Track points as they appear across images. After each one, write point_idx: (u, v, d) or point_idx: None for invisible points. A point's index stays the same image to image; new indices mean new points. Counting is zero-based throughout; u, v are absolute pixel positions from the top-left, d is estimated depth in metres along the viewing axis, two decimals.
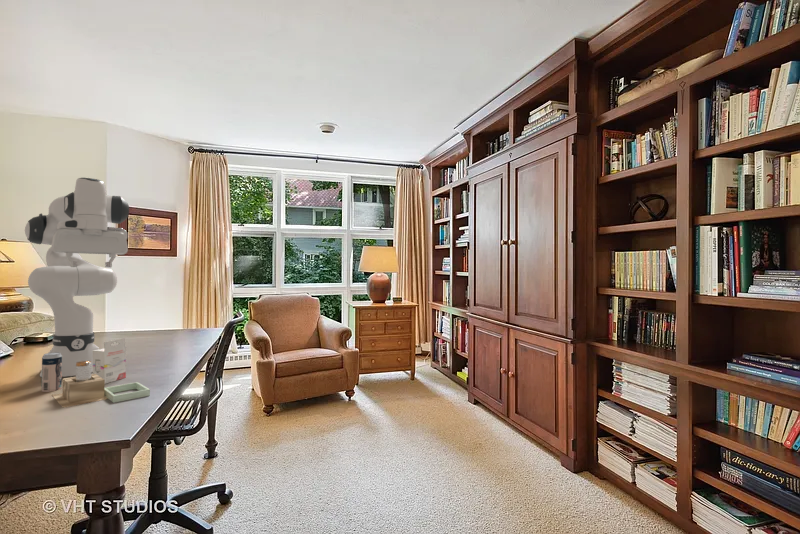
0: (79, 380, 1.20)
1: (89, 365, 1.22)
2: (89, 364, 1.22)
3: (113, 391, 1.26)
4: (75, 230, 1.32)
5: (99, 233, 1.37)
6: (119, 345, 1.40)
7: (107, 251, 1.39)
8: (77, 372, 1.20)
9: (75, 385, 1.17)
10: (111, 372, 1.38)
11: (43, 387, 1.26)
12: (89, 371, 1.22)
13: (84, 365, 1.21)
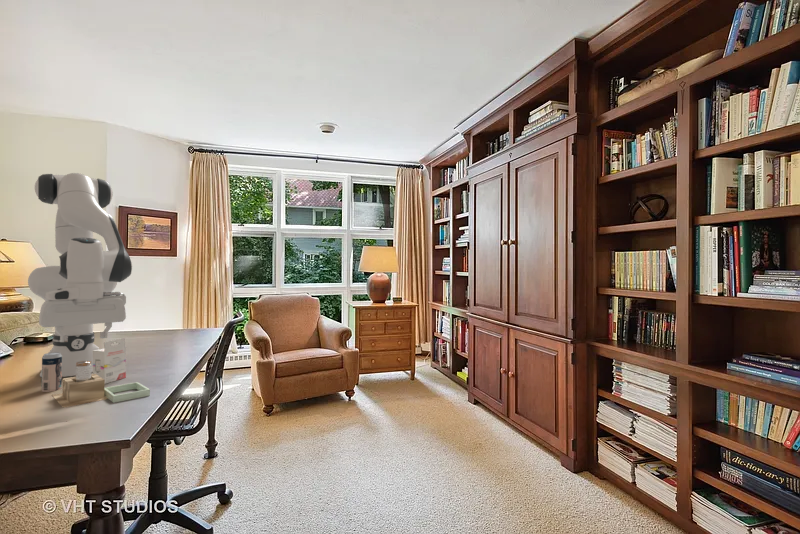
0: (79, 380, 1.20)
1: (89, 365, 1.22)
2: (89, 364, 1.22)
3: (113, 391, 1.26)
4: (66, 302, 1.17)
5: (94, 302, 1.21)
6: (119, 345, 1.40)
7: (102, 321, 1.24)
8: (77, 372, 1.20)
9: (75, 385, 1.17)
10: (111, 372, 1.38)
11: (43, 387, 1.26)
12: (89, 371, 1.22)
13: (84, 365, 1.21)
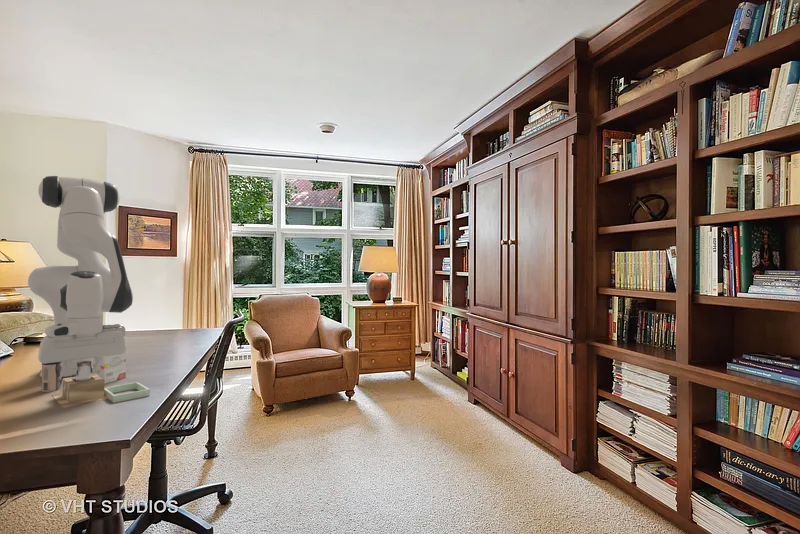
0: (79, 380, 1.20)
1: (89, 365, 1.22)
2: (89, 364, 1.22)
3: (113, 391, 1.26)
4: (66, 337, 1.17)
5: (93, 336, 1.21)
6: None
7: (102, 355, 1.24)
8: (77, 372, 1.20)
9: (75, 385, 1.17)
10: (111, 372, 1.38)
11: (43, 387, 1.26)
12: (89, 371, 1.22)
13: (84, 365, 1.21)
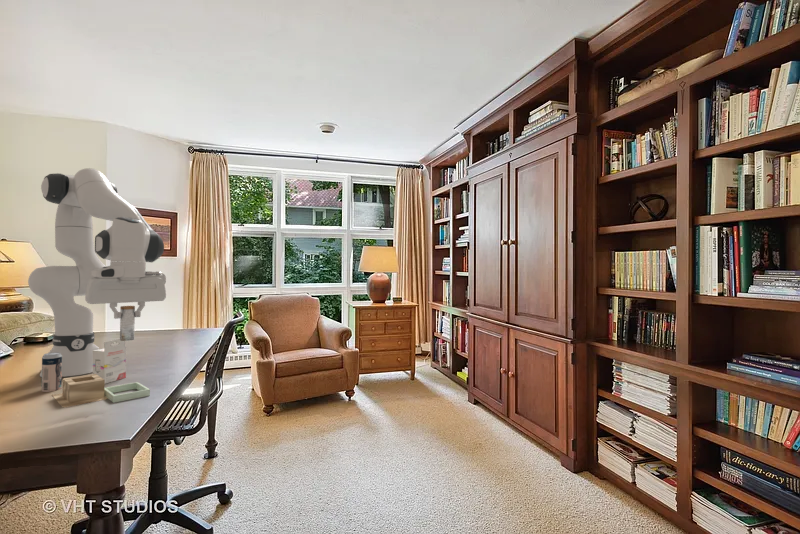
0: (123, 323, 1.22)
1: (133, 309, 1.24)
2: (133, 308, 1.24)
3: (113, 391, 1.26)
4: (112, 279, 1.19)
5: (137, 281, 1.24)
6: (119, 345, 1.40)
7: (144, 300, 1.26)
8: (122, 315, 1.22)
9: (75, 385, 1.17)
10: (111, 372, 1.38)
11: (43, 387, 1.26)
12: (133, 315, 1.24)
13: (128, 308, 1.23)
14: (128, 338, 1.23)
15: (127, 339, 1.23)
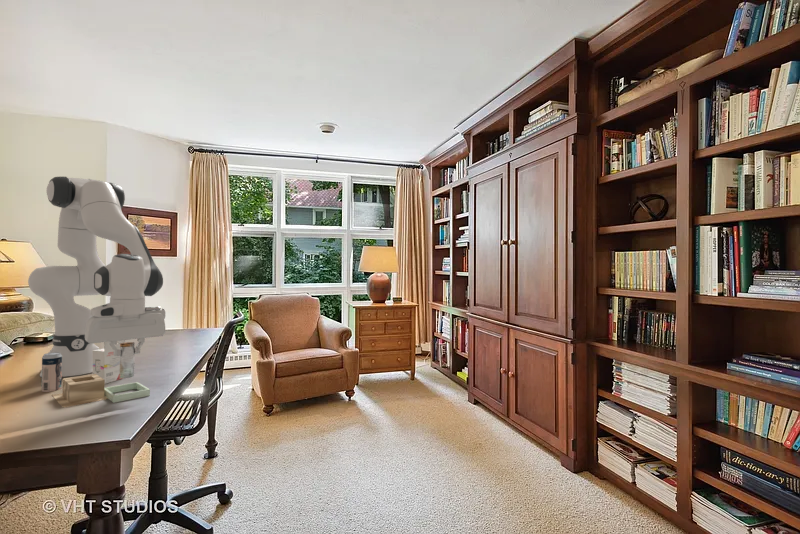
0: (123, 361, 1.22)
1: (132, 346, 1.24)
2: (132, 345, 1.24)
3: (113, 391, 1.26)
4: (111, 318, 1.19)
5: (136, 318, 1.24)
6: (118, 345, 1.40)
7: (144, 336, 1.26)
8: (121, 353, 1.22)
9: (75, 385, 1.17)
10: (111, 372, 1.38)
11: (43, 387, 1.26)
12: (132, 352, 1.24)
13: (128, 346, 1.23)
14: (127, 376, 1.23)
15: (127, 376, 1.22)
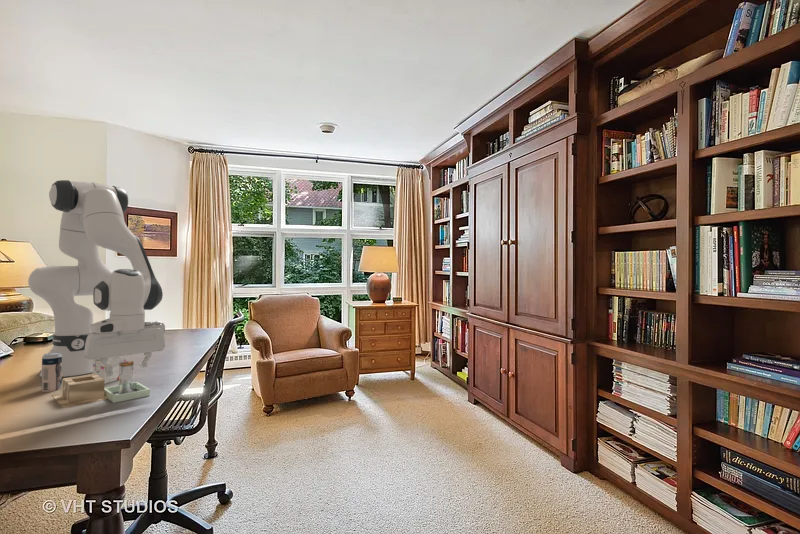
0: (122, 380, 1.22)
1: (132, 365, 1.24)
2: (132, 364, 1.24)
3: (113, 391, 1.26)
4: (111, 334, 1.19)
5: (136, 333, 1.24)
6: None
7: (144, 351, 1.26)
8: (120, 372, 1.22)
9: (75, 385, 1.17)
10: None
11: (43, 387, 1.26)
12: (132, 371, 1.24)
13: (127, 365, 1.23)
14: None
15: None
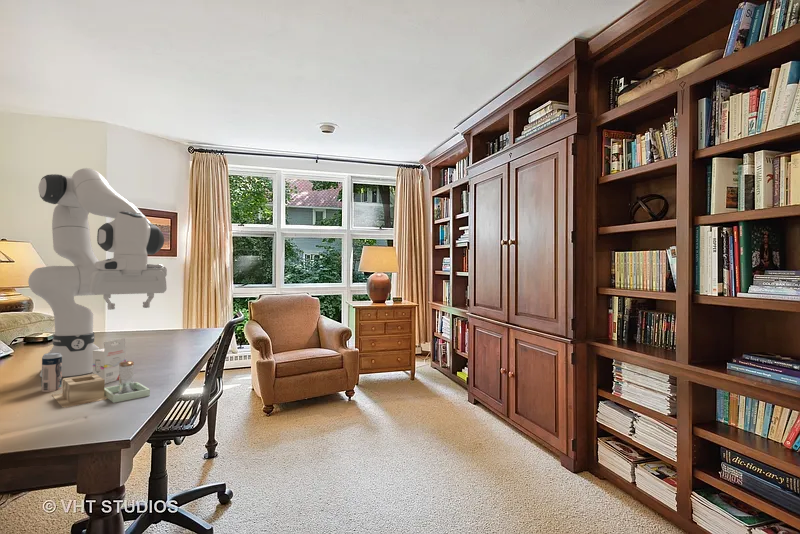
0: (122, 380, 1.22)
1: (132, 365, 1.24)
2: (132, 364, 1.24)
3: (113, 391, 1.26)
4: (114, 272, 1.23)
5: (139, 273, 1.28)
6: (119, 345, 1.40)
7: (146, 291, 1.31)
8: (120, 372, 1.22)
9: (75, 385, 1.17)
10: (111, 372, 1.38)
11: (43, 387, 1.26)
12: (132, 371, 1.24)
13: (127, 365, 1.23)
14: None
15: None
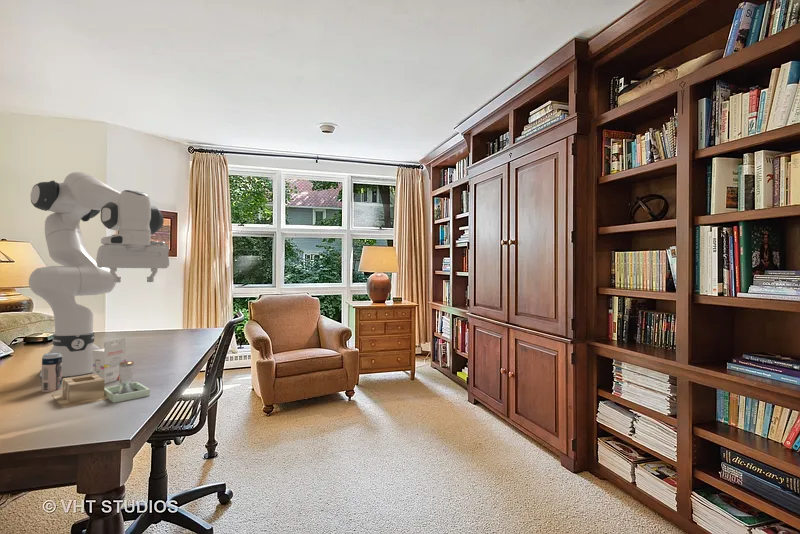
0: (122, 380, 1.22)
1: (132, 365, 1.24)
2: (132, 364, 1.24)
3: (113, 391, 1.26)
4: (120, 246, 1.30)
5: (143, 248, 1.35)
6: (119, 345, 1.40)
7: (150, 266, 1.38)
8: (120, 372, 1.22)
9: (75, 385, 1.17)
10: (111, 372, 1.38)
11: (43, 387, 1.26)
12: (132, 371, 1.24)
13: (127, 365, 1.23)
14: None
15: None
